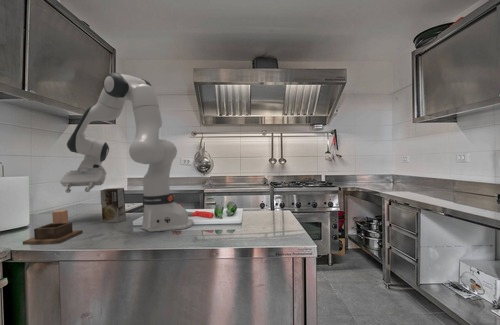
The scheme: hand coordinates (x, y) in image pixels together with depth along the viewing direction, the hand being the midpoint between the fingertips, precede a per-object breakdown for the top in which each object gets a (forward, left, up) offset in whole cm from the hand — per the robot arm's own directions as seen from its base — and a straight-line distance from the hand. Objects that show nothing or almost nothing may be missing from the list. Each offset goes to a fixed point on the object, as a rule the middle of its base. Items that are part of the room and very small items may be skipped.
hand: (77, 191), depth 134 cm
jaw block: (0, +12, -16) cm, 20 cm away
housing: (-5, +23, -16) cm, 29 cm away
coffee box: (-15, -5, -16) cm, 23 cm away
